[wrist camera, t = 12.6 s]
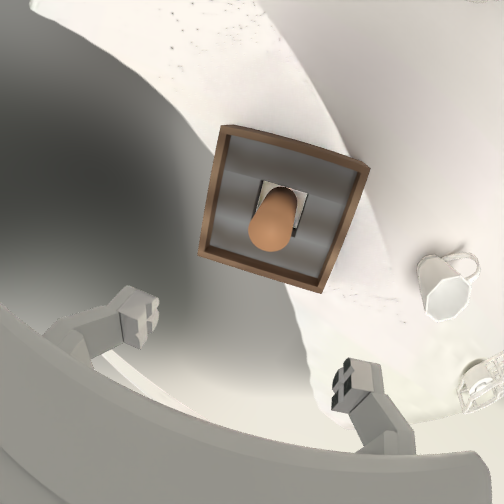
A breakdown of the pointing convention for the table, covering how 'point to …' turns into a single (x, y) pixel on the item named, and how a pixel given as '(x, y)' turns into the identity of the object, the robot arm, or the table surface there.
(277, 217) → the peg
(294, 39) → the table surface
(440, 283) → the cup
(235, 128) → the box
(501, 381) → the skeletal toy car
